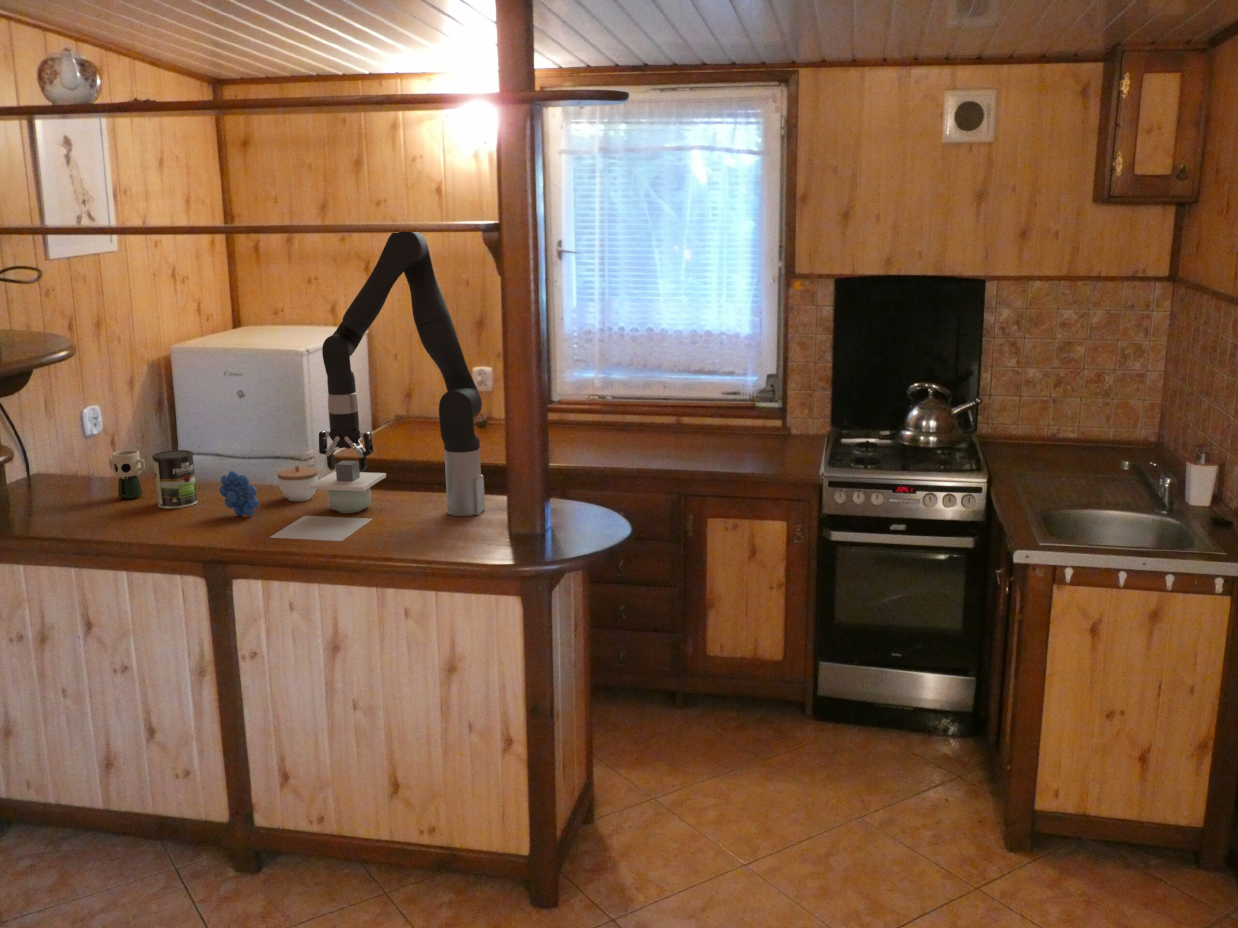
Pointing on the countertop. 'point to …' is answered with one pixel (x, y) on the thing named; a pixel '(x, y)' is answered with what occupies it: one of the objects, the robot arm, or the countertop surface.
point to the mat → (322, 528)
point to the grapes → (238, 493)
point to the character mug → (127, 472)
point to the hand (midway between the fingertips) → (347, 470)
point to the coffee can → (175, 479)
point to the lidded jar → (297, 482)
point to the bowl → (349, 500)
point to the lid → (348, 478)
